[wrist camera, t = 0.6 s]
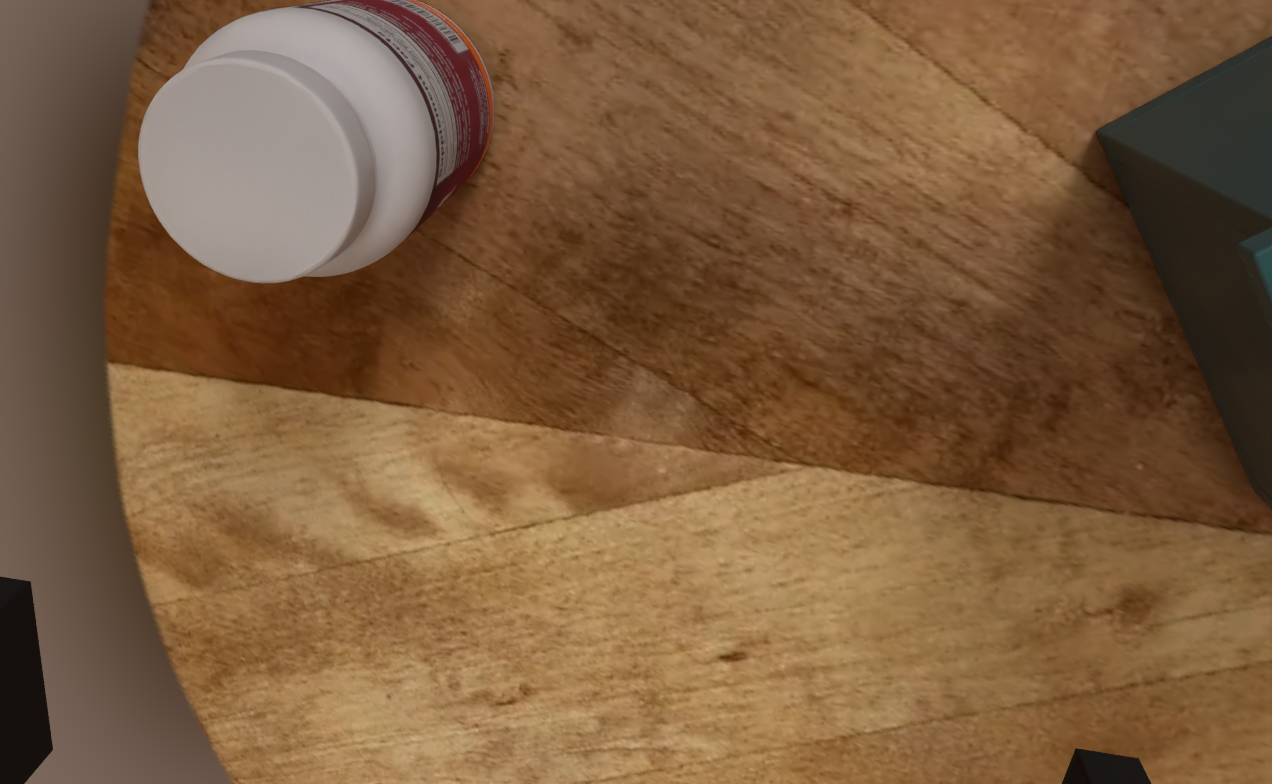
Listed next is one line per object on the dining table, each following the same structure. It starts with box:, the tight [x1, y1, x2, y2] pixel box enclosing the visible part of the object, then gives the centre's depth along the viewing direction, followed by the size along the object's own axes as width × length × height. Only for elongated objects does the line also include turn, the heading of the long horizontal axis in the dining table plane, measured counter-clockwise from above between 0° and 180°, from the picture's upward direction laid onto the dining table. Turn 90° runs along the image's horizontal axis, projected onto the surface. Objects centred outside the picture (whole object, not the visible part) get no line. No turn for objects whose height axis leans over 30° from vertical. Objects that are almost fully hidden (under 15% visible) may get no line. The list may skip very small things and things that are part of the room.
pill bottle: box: [138, 0, 495, 283], centre depth 26 cm, size 6×6×11 cm
